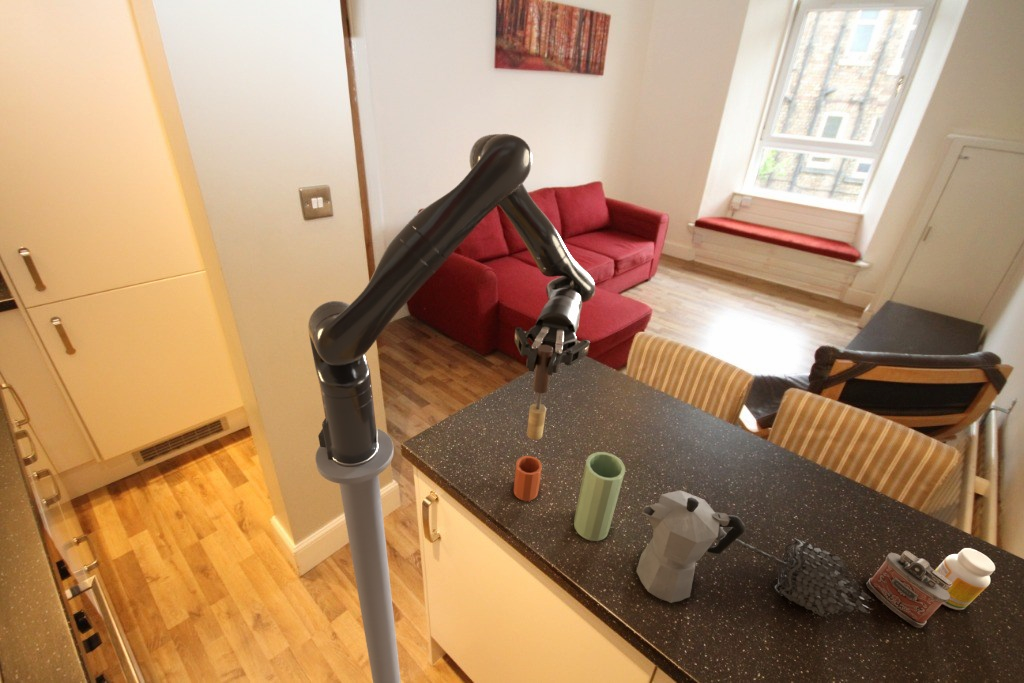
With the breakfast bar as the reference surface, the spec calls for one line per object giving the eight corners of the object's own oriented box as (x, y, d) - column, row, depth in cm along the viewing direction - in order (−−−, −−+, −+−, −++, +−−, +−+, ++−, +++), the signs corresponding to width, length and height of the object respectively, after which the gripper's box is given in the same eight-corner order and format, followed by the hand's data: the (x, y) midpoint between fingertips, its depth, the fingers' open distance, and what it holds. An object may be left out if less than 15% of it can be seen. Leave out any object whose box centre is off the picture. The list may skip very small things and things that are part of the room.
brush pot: (513, 500, 85) (515, 473, 82) (513, 480, 89) (516, 455, 86) (538, 501, 85) (542, 475, 82) (537, 482, 89) (541, 456, 86)
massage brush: (714, 530, 82) (730, 495, 78) (855, 598, 73) (882, 562, 68) (704, 569, 75) (720, 533, 71) (858, 650, 65) (889, 614, 61)
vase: (575, 539, 78) (588, 478, 71) (572, 510, 84) (584, 450, 77) (611, 542, 79) (628, 481, 71) (605, 512, 84) (621, 453, 77)
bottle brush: (526, 439, 79) (537, 352, 70) (526, 429, 81) (536, 343, 72) (542, 440, 79) (555, 353, 70) (542, 430, 81) (553, 344, 72)
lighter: (862, 585, 75) (891, 547, 70) (873, 577, 76) (902, 539, 71) (917, 631, 69) (953, 593, 64) (927, 621, 70) (964, 583, 65)
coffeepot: (627, 599, 70) (653, 522, 61) (620, 545, 78) (642, 471, 69) (727, 611, 69) (768, 536, 60) (709, 556, 77) (743, 483, 68)
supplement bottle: (916, 582, 76) (947, 546, 71) (939, 576, 77) (971, 540, 72) (950, 614, 71) (985, 578, 67) (973, 607, 73) (1010, 571, 68)
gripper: (524, 297, 84) (499, 339, 69) (598, 310, 81) (589, 356, 66) (521, 332, 87) (496, 379, 72) (591, 345, 85) (581, 397, 70)
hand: (541, 368), depth 69 cm, fingers closed on bottle brush, 2 cm apart
